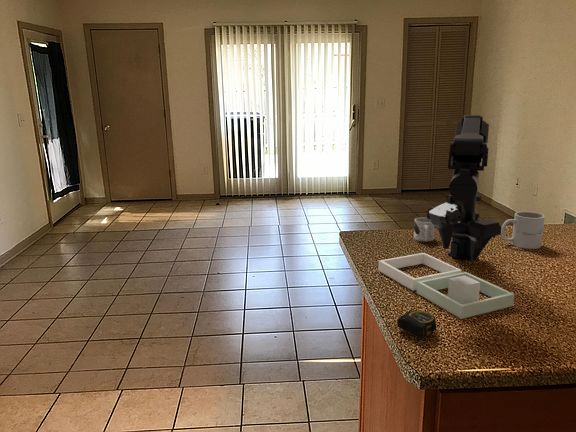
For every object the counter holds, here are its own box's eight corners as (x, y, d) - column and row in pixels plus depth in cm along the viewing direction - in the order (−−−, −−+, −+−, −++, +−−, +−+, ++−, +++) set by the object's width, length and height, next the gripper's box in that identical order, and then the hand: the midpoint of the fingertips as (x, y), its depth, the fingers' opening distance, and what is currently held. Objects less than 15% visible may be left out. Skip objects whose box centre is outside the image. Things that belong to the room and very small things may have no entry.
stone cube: (463, 294, 119) (464, 275, 118) (478, 301, 115) (480, 282, 113) (447, 297, 117) (448, 278, 116) (462, 305, 113) (463, 286, 112)
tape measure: (394, 330, 102) (395, 314, 101) (416, 321, 105) (417, 306, 104) (419, 344, 96) (420, 327, 95) (442, 334, 100) (443, 318, 99)
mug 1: (412, 235, 167) (413, 217, 165) (432, 236, 166) (433, 217, 164) (415, 244, 157) (416, 225, 156) (436, 245, 156) (438, 225, 155)
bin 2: (464, 282, 126) (465, 271, 125) (512, 305, 112) (514, 294, 111) (416, 292, 120) (417, 281, 119) (461, 318, 106) (462, 306, 105)
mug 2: (538, 241, 158) (541, 212, 156) (543, 249, 150) (547, 219, 148) (498, 238, 162) (501, 210, 159) (500, 246, 154) (504, 216, 151)
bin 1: (423, 262, 141) (423, 252, 140) (461, 280, 127) (461, 270, 126) (378, 270, 135) (378, 260, 134) (413, 290, 121) (413, 279, 120)
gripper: (411, 187, 117) (408, 248, 121) (467, 204, 100) (461, 273, 104) (446, 183, 121) (442, 241, 125) (506, 198, 105) (499, 265, 109)
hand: (459, 254), depth 116 cm, fingers open, 9 cm apart
